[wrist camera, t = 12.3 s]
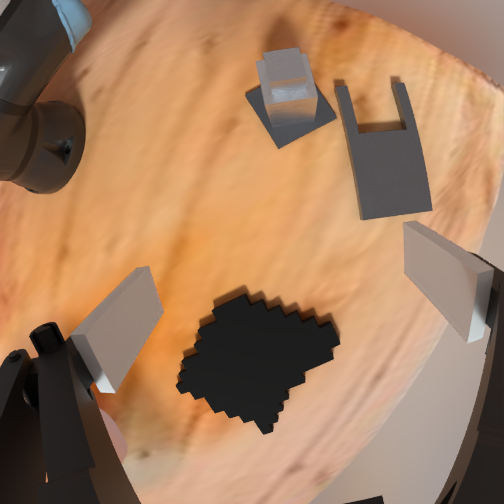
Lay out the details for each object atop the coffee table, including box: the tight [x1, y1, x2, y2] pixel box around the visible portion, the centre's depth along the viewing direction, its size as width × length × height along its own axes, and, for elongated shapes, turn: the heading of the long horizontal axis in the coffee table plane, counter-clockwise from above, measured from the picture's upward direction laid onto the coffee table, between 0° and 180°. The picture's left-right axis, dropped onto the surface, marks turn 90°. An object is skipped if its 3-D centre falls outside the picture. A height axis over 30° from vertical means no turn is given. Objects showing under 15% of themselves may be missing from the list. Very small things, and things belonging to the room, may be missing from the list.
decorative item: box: [176, 293, 340, 435], centre depth 38 cm, size 23×2×20 cm
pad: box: [245, 86, 337, 149], centre depth 34 cm, size 8×8×1 cm
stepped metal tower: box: [256, 47, 318, 128], centre depth 28 cm, size 5×5×11 cm
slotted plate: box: [335, 83, 432, 220], centre depth 32 cm, size 16×9×1 cm, turn 9°
